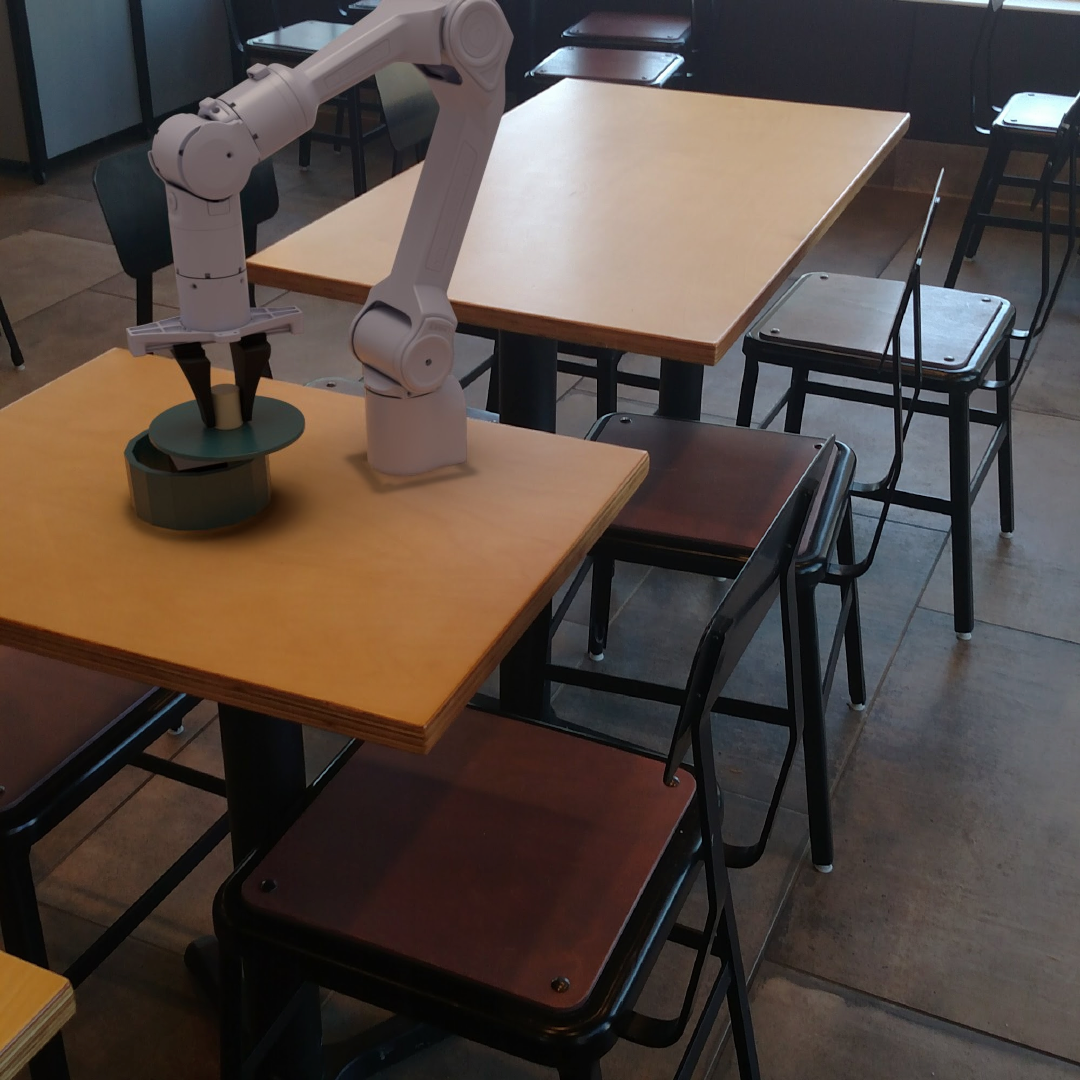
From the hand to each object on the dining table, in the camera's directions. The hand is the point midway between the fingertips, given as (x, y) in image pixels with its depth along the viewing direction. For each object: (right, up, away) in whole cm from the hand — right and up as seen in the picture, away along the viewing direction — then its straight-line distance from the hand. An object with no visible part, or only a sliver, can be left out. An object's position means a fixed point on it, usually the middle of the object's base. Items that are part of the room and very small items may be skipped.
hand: (226, 420), depth 109 cm
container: (-4, -7, +7) cm, 10 cm away
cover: (0, -1, 0) cm, 1 cm away
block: (-4, -7, +6) cm, 10 cm away
